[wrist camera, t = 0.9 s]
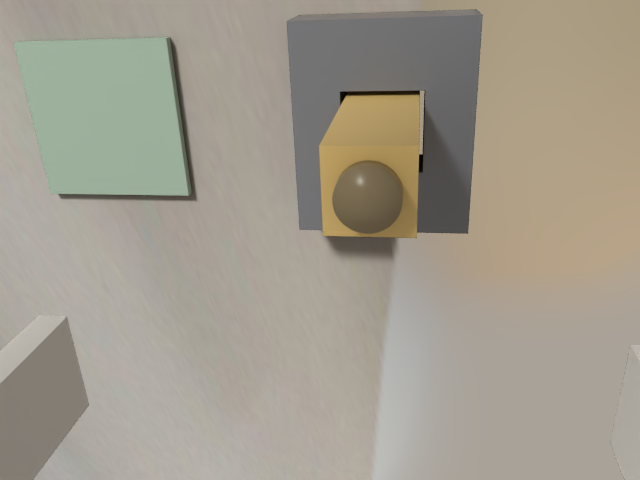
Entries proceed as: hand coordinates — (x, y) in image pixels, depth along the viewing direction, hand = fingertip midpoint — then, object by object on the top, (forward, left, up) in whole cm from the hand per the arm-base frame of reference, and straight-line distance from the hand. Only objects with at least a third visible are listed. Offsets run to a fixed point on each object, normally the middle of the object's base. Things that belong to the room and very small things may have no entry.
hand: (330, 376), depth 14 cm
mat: (0, -18, -25) cm, 31 cm away
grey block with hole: (0, 0, -25) cm, 25 cm away
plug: (0, 0, -25) cm, 25 cm away
